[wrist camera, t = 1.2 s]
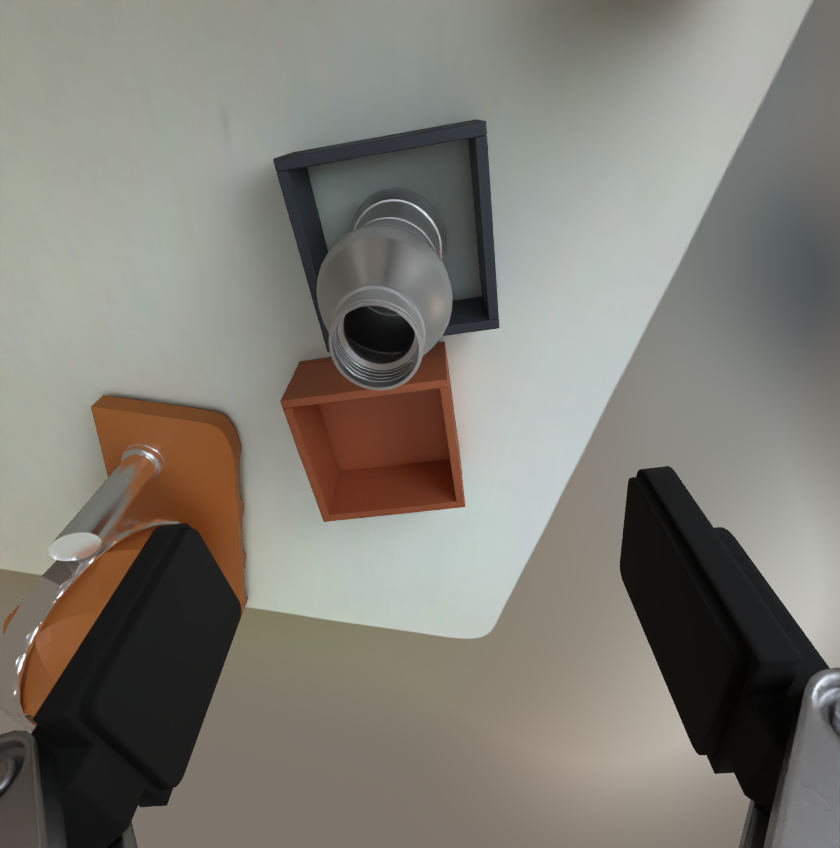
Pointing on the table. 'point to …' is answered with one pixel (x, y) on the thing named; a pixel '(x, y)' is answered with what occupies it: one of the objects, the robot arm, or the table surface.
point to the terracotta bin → (376, 440)
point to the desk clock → (124, 534)
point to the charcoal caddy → (294, 165)
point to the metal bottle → (386, 290)
